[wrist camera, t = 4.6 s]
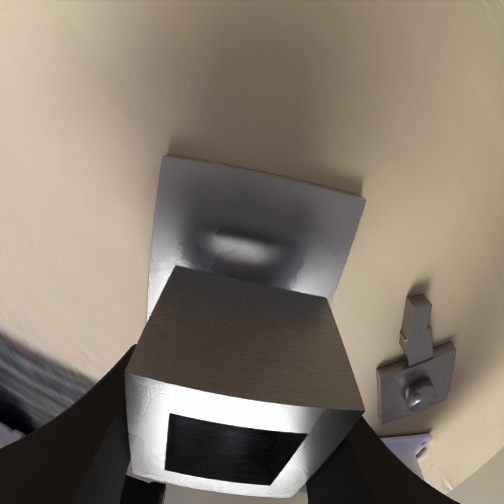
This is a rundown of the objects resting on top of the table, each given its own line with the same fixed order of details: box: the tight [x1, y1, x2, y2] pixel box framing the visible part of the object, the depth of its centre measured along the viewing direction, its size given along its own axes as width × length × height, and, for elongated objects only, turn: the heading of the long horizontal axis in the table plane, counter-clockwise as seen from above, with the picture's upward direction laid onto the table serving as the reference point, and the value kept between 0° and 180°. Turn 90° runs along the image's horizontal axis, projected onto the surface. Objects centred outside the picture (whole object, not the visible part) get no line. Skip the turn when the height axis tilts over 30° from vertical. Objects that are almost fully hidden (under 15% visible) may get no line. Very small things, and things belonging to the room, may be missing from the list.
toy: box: [0, 422, 166, 504], centre depth 20 cm, size 19×7×30 cm
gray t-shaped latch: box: [377, 294, 456, 424], centre depth 15 cm, size 10×5×2 cm, turn 17°
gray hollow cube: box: [125, 265, 365, 498], centre depth 9 cm, size 5×5×5 cm
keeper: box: [147, 155, 366, 322], centre depth 13 cm, size 12×8×4 cm, turn 168°
